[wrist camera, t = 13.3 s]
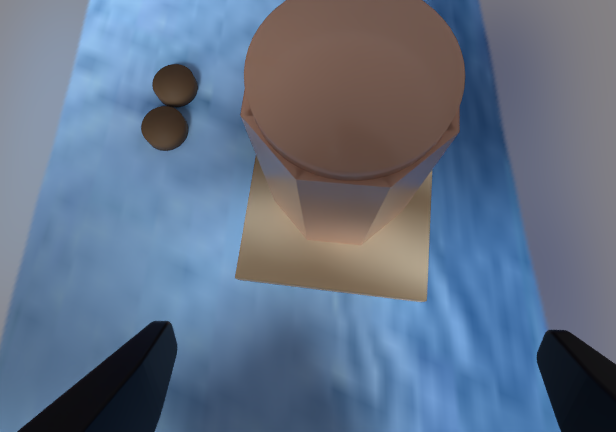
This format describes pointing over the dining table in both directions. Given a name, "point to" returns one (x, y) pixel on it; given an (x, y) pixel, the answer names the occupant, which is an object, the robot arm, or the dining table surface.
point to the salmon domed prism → (350, 109)
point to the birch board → (336, 250)
